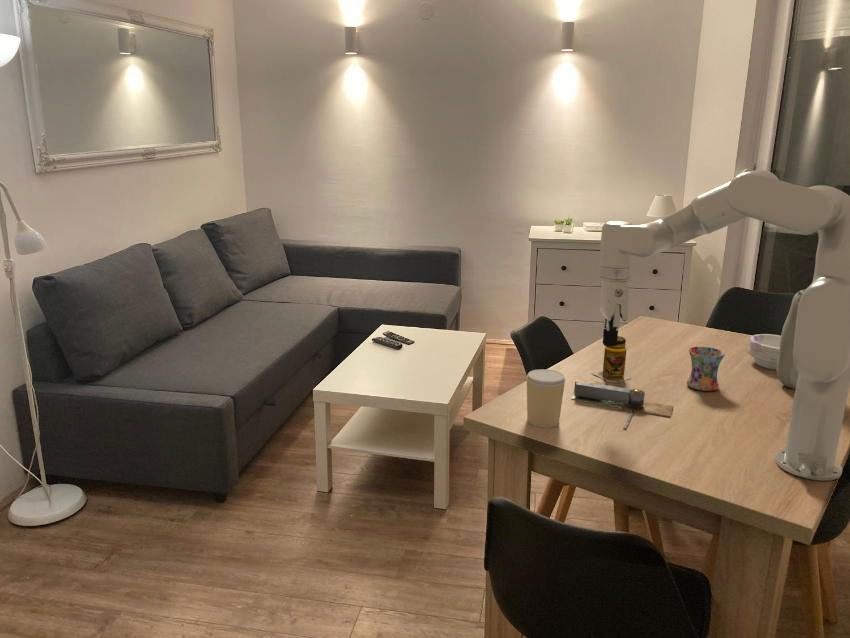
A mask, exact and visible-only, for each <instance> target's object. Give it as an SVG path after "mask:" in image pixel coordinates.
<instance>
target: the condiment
mask: <svg viewBox="0 0 850 638" xmlns="http://www.w3.org/2000/svg"><path fill="white" fill-rule="evenodd" d="M626 342H627V340H626V338H625V337H622V336H619V335H618V339H617V346H604V352H603V353H604V354H603V363H602V364H603V365H602V371H599V372H598V371H597V372H593V373H592V375H594V376H597V377H598V378H601V379H602V380H605V381H607V382H609V383H612V384H613V383H618V382H623V381H625V380H629V379H631V377H629V376H626V375H625V370H626V361H627V360H626V359H627V348H626Z"/></svg>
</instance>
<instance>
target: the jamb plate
mask: <svg viewBox="0 0 850 638" xmlns="http://www.w3.org/2000/svg"><path fill="white" fill-rule="evenodd" d="M620 409H621V410H624V411H630V413H629V415H628V418H627V420H626V422H625V424H624V426H623V430H627V428H628V426H629V424H630V422H631V419H632V417H633V415H634V412H637V413H642V414H649V415H653V416H654V415H655V416H660V417H665V418H671V415H672V413H673V410H674V405H668V404H663V403H662V404H661V403H658V402H657V403H656V402H649V401H645V400H644V405H643V406H632V405H629V404H624V403H623V405H622V407H621V408H620Z"/></svg>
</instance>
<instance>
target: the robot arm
mask: <svg viewBox="0 0 850 638" xmlns="http://www.w3.org/2000/svg"><path fill="white" fill-rule="evenodd" d="M748 218H751V219H754V220H757V221H761V222H764V223H767V224H770V225H773V226H777V227H780V228H782V229H786V230H789V231H793V232H796V233H801V234H802V233H803V234H804V233H805V234H811V233H815V232H817V233H818V243H817V249H816V254H815V264H814V265H815V266H814V271H813V272H814V273H813V279H812V282H811V284H810V285H809V286H808V287H807V288H805V289H806V290H805V291H804V293H803V294H802V296H801V299H800V302H799V306H798V312H797V321H796V330H795V338H794V347H793V362H794V365H795V368H796V369H797V371H798V372H799V374H798V379H797V384H796V389H795V391H794V392H795V393H794V396H793V397H794V398H793V401H792V408H791V415H790V419H789V420H790V421H789V427H788V432H787V439H786V444H785V449H783V450H781V451H779V452H777V453H776V455H775V462H776V464H777V465H778V467H779V468H781V469H782V470H784V471H786V472H787V473H789V474H791V475H794V476H797V477H799V478H803V479H807V480H812V481H822V482H823V481H824V482H825V481H827V482H828V481H833V480H837V479H839V478H840V477H841V476H842V473H843V468H842V466H841V465H840V463H839V462H837V461H836V460H837V459H836V458H837V452H838V447H839V443H840V438H841V432H842V427H843V420H844V416H845V413H846V406H847V403H848V397H849V391H850V195H849V194H847V193H846V192H844V191H842V190H841V189H839V188H836V187H833V186H829V185H813V186H810V187H806V186H802V185H798V184H794V183H791V182H787V181H784V180H780V179H779V178H778V177H777V175H776V174H774V173H773V172H771V171H770V170H765V169H756V170H750V171H749V170H748V171H744V172H742V173H740V174H738V175H736V176H735V177H734V178H733V179H731V180H730V181H729V182H727V183H725V184H723V185H720V186H718V187H716V188H714V189H711V190H709V191H707V192H705V193H703V194H700V195H698V196H696V197H695V198H694V199H693V200H692V201H691V202H690V203H689V204H688V205H686V206H685V207H684V208H683V207H682V208H681V209H679V210H677V211H675V212H674V213H671V214H668V215H667V216H665V217H664V216H663V217H661V218H660V219H657V220H655V221H651V222H647V223H643V224H639V225H634V224H632V223H631V222H630V221H629V222H628V221H620V220H619V221H618V220H612V221H606V222H604V223H603V225H602V226H601V237H600V238H601V239H600V254H599V265H598V266H599V267H598V279H599V280H601V284H600V285H601V288H600V297H599V312H600V314H601V315H602V316H603V335H602V344H603V346H604V347H605V346H617V339H618V336H619V328H620V319H622V321H623V322H627V321H628V318H629V281H631V277H632V266H633V265H632V264H633V256H635V257H638V258H649V257H652V256H655V255H657V254H660V253H663V252H666V251H668V250H670V249H672V248H675V247H677V246H680V245H682V244H685V243H688V242H689V241H691V240H695V239H697V238H699V237H702V236H704V235H710V234H712V233H714V232H717V231H719V230H722V229H723V228H726V227H729V226H730V225H733V224H735V223H738V222H740V221H742V220H744V219H748Z"/></svg>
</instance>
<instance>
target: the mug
mask: <svg viewBox="0 0 850 638" xmlns="http://www.w3.org/2000/svg"><path fill="white" fill-rule="evenodd" d="M688 351H689V355H690V359H691V369H690V370H691V371H690V375H689V377H688V379H687V380H686V384H687V386H688V387H690V388H692V389H694V390H697V391H702V392H713V391H716V390H718V389H719V388H720V384H719V383H718V370H719V367H720V364H721V362H722V360H723V359H724V357H725V356H726V353H725V352H724V350H723V351H722V350H720V349H719V348H716V347H715V348H714V347H710V346H693V347H690V348H688Z"/></svg>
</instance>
